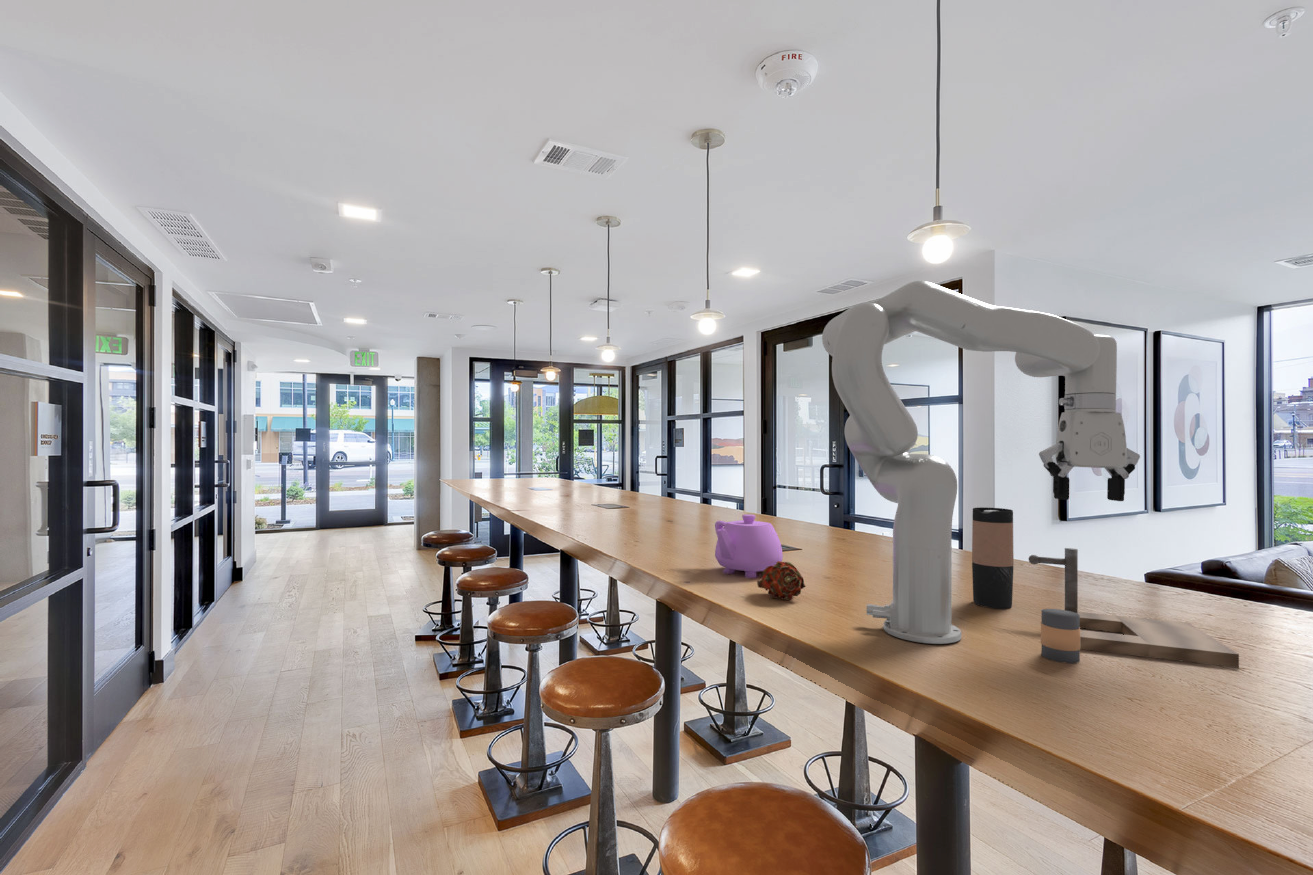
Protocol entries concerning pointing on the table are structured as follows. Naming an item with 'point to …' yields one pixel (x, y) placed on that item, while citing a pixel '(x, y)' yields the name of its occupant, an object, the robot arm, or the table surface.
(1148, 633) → the grey frame with post
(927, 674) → the table surface
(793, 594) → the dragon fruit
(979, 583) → the travel mug
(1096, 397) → the robot arm
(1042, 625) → the coffee cup
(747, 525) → the teapot
